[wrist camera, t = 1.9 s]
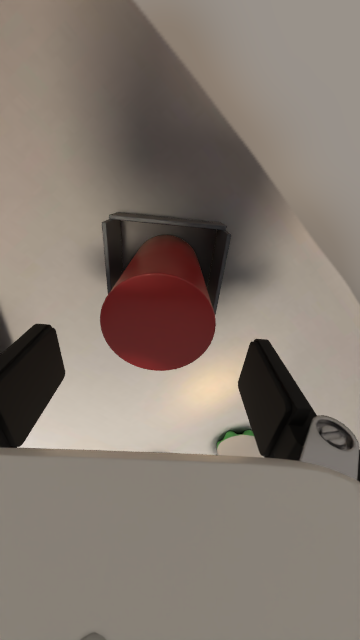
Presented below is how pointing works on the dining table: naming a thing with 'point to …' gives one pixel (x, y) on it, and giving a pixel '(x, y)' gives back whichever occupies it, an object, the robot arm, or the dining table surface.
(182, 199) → the dining table surface
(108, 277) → the dark square frame
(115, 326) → the can
